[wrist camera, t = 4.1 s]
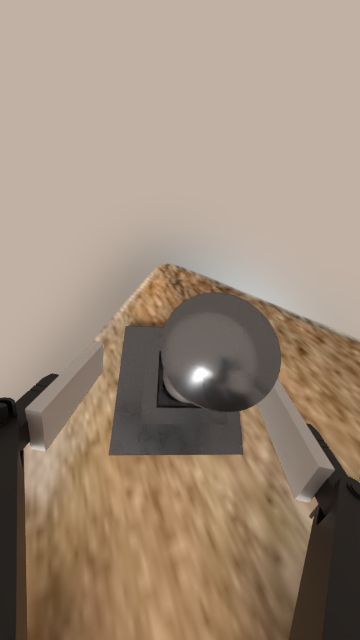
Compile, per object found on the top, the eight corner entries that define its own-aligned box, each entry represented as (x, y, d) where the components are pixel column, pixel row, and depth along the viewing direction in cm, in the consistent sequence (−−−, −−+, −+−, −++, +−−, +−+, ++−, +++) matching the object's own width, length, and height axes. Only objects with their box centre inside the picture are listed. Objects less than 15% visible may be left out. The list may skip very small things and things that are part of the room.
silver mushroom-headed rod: (196, 366, 30) (270, 295, 9) (196, 403, 28) (292, 412, 7) (162, 365, 30) (164, 289, 9) (160, 402, 28) (157, 411, 7)
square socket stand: (228, 333, 35) (257, 305, 24) (239, 451, 28) (284, 482, 17) (127, 328, 33) (111, 297, 23) (111, 452, 26) (79, 486, 16)
